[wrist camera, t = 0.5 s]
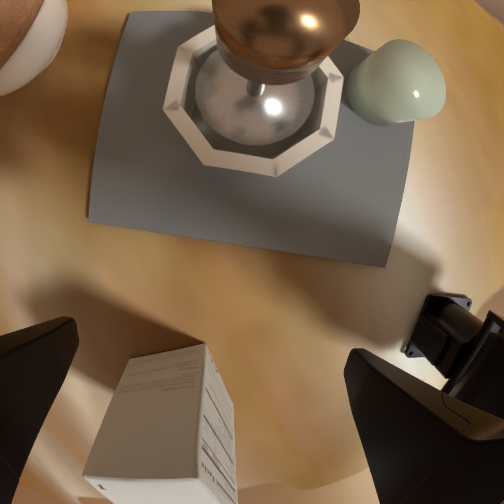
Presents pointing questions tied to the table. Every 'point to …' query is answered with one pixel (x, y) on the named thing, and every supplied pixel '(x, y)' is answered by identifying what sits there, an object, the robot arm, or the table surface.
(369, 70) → the sage green dome
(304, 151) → the octagonal white frame
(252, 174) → the slate tray
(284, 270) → the table surface
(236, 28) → the coffee tamper
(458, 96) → the table surface
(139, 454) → the supplement box
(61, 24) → the lidded jar
